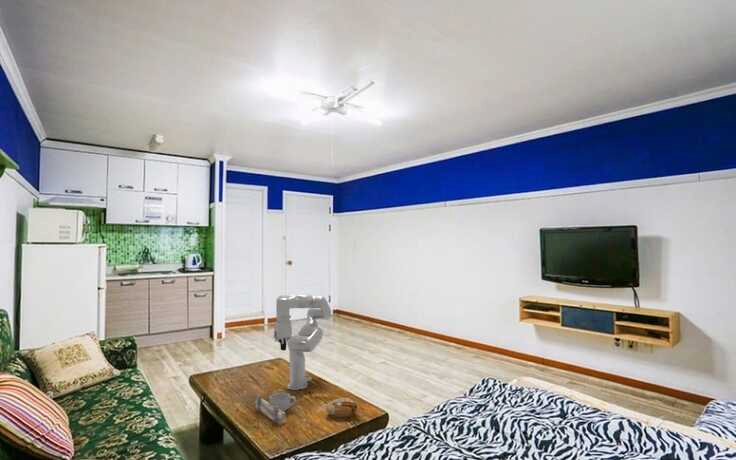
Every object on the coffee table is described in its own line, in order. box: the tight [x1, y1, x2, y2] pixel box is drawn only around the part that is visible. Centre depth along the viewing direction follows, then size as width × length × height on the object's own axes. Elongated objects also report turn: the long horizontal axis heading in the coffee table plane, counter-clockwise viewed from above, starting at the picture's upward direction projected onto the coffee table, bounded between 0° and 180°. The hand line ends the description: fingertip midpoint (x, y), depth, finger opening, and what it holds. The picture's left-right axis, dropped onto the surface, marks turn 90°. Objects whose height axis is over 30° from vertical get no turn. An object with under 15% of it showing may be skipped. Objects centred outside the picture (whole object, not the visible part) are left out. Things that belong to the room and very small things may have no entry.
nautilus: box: [325, 397, 362, 422], centre depth 191 cm, size 8×22×15 cm
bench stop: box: [255, 394, 287, 426], centre depth 193 cm, size 4×26×8 cm, turn 43°
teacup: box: [269, 392, 297, 413], centre depth 199 cm, size 14×11×8 cm
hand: (283, 349), depth 220 cm, fingers closed
